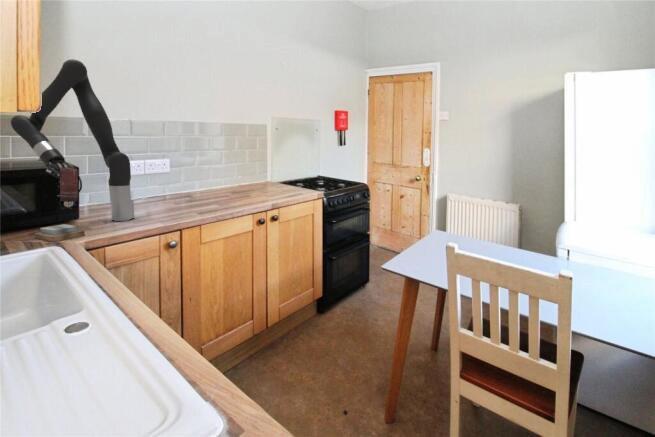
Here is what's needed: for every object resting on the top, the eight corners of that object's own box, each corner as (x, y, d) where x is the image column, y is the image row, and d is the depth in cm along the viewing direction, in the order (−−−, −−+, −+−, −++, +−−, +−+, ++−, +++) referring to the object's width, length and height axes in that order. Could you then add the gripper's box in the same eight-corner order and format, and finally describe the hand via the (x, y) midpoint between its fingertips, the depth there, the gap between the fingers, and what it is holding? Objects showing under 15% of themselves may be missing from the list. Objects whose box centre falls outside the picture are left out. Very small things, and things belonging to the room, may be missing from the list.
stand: (66, 232, 158) (65, 223, 157) (84, 235, 153) (83, 226, 152) (34, 238, 147) (33, 228, 147) (53, 241, 142) (51, 231, 142)
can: (69, 202, 156) (69, 169, 154) (56, 200, 157) (56, 167, 155) (81, 201, 162) (81, 168, 160) (69, 199, 163) (68, 166, 161)
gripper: (37, 148, 152) (63, 179, 151) (67, 148, 164) (92, 177, 163) (28, 160, 154) (54, 192, 153) (59, 160, 167) (83, 189, 165)
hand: (74, 184), depth 158 cm, fingers closed
